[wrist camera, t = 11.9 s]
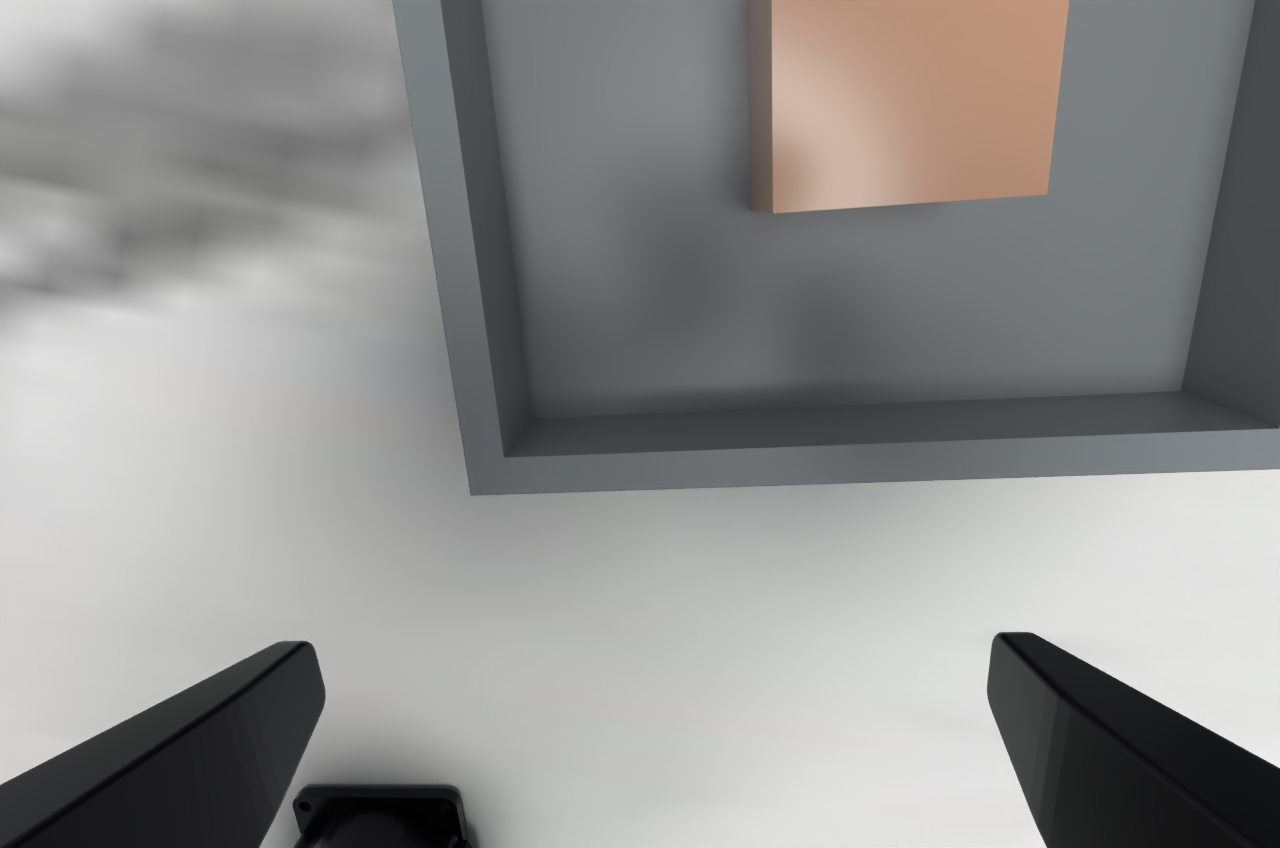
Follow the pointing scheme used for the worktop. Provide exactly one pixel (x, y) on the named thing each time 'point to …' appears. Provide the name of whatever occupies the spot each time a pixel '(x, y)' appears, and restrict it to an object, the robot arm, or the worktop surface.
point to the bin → (842, 262)
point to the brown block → (901, 100)
